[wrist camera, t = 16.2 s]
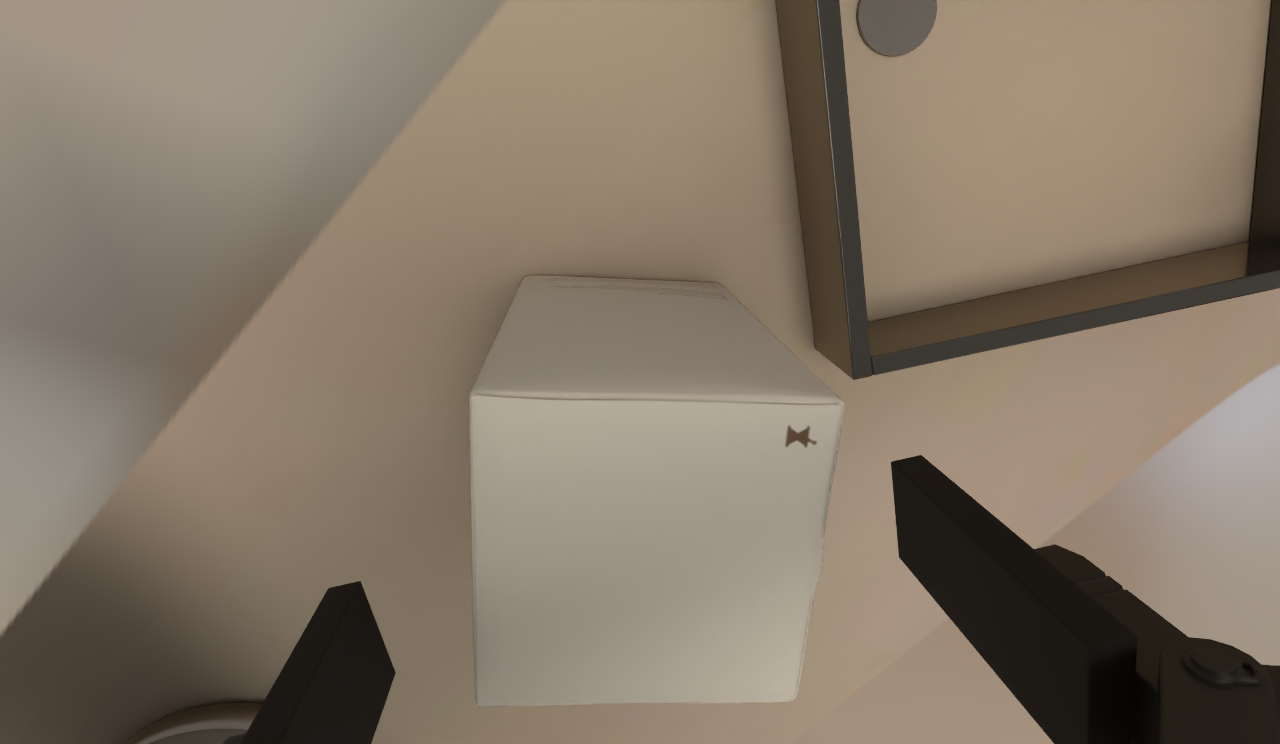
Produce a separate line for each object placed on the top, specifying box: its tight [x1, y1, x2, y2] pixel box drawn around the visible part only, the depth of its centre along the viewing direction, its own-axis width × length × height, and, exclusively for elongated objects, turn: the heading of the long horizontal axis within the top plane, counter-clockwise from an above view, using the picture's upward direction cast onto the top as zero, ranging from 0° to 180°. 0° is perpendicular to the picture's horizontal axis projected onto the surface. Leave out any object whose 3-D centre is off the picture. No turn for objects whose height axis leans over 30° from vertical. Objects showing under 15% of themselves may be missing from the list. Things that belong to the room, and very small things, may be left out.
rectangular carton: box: [469, 275, 844, 707], centre depth 23 cm, size 9×9×15 cm
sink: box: [775, 0, 1280, 380], centre depth 23 cm, size 25×18×12 cm
